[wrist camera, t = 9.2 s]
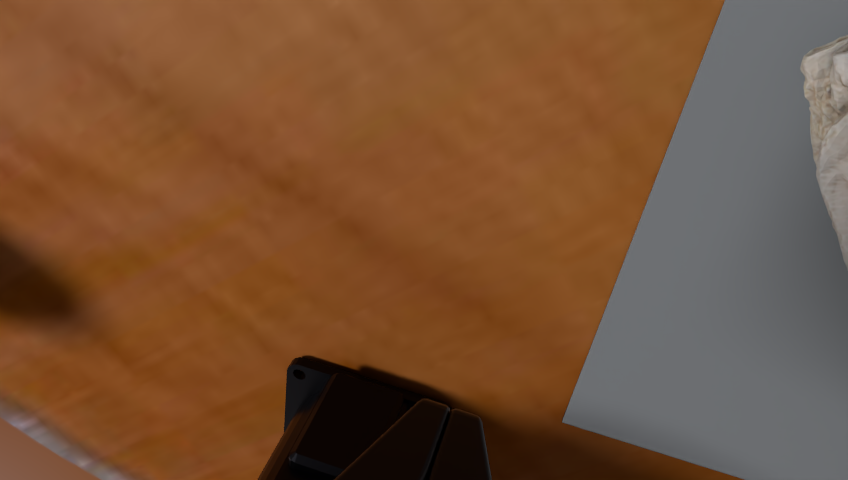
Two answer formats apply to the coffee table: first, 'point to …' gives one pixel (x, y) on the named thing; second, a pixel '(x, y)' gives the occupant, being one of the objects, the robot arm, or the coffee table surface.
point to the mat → (733, 273)
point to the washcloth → (830, 128)
